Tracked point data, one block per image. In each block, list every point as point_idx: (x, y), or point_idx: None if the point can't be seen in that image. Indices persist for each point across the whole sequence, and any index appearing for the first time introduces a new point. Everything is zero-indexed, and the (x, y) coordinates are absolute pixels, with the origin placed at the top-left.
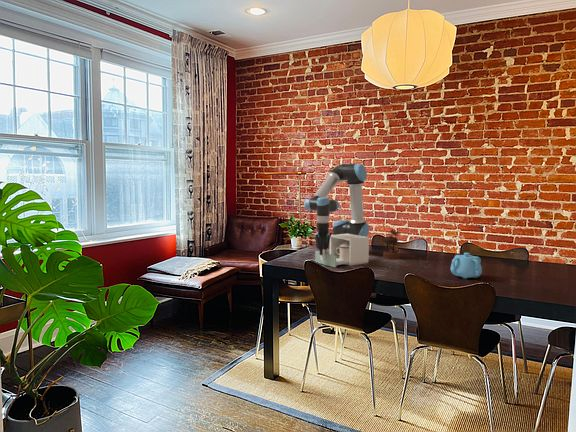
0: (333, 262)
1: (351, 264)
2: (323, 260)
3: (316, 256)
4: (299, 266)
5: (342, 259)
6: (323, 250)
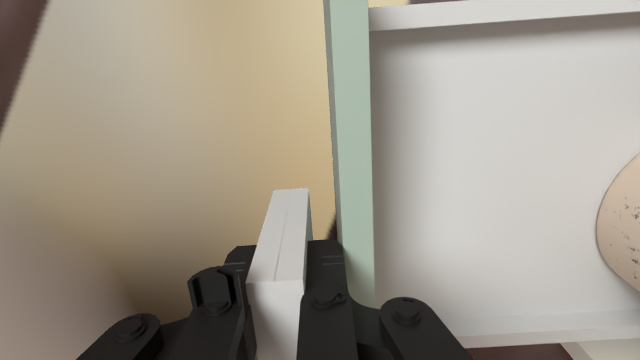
0: None
1: None
2: (335, 180)
3: (325, 3)
4: (12, 82)
5: (601, 239)
6: (271, 354)
